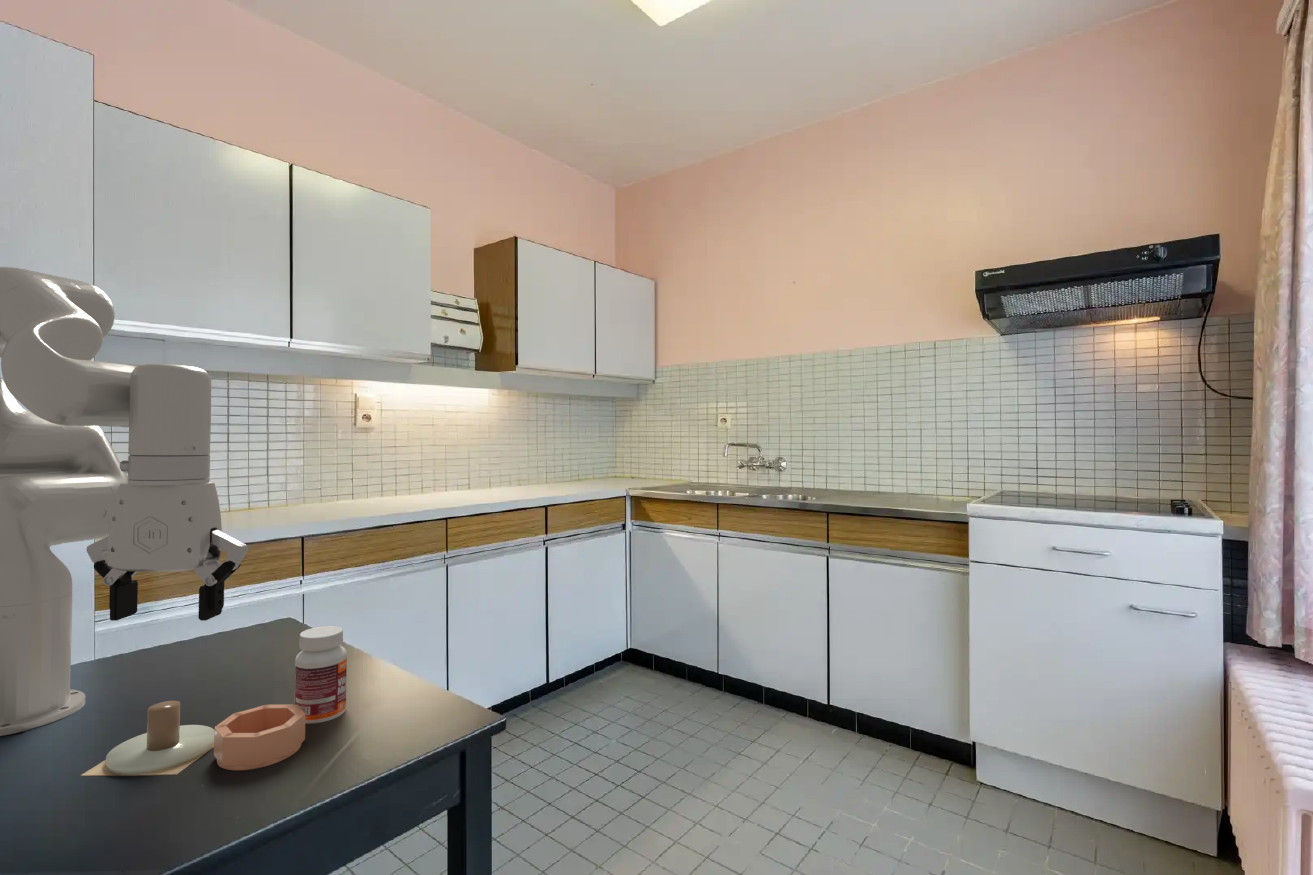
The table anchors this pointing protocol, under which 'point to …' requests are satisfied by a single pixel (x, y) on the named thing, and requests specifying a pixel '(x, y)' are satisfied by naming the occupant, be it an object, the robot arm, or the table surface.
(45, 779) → the table surface
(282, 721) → the bowl
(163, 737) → the lid
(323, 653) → the pill bottle
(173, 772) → the mat
